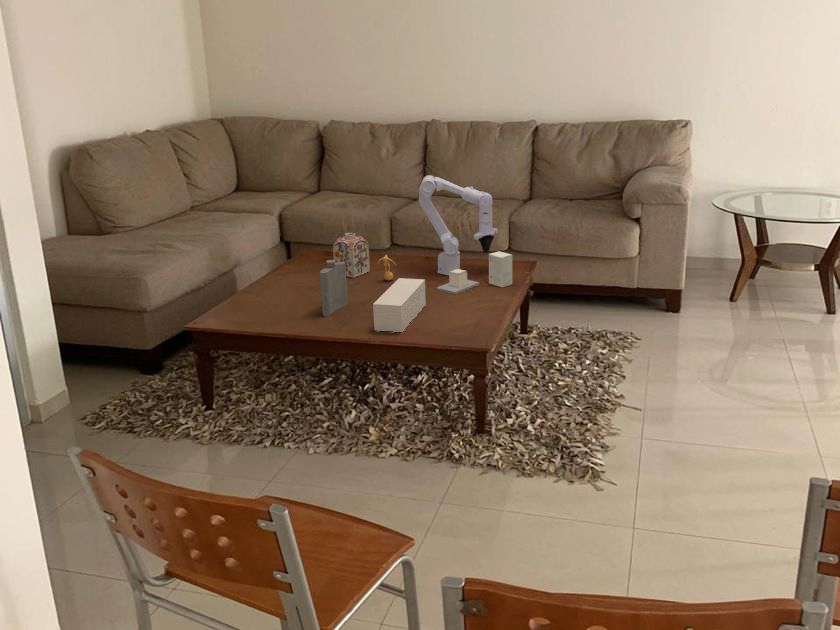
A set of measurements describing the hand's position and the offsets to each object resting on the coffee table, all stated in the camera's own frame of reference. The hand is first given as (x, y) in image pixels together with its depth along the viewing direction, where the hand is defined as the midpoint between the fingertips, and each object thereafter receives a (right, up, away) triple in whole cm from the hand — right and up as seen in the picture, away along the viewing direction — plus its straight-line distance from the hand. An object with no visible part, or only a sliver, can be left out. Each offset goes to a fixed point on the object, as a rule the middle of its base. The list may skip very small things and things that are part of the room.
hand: (485, 252), depth 385 cm
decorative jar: (-59, -9, +9) cm, 60 cm away
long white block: (-36, -29, -48) cm, 66 cm away
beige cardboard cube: (-13, -15, -15) cm, 25 cm away
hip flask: (-62, -25, -37) cm, 77 cm away
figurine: (-42, -13, -3) cm, 44 cm away
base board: (-13, -16, -15) cm, 25 cm away
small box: (+5, -14, -12) cm, 20 cm away
